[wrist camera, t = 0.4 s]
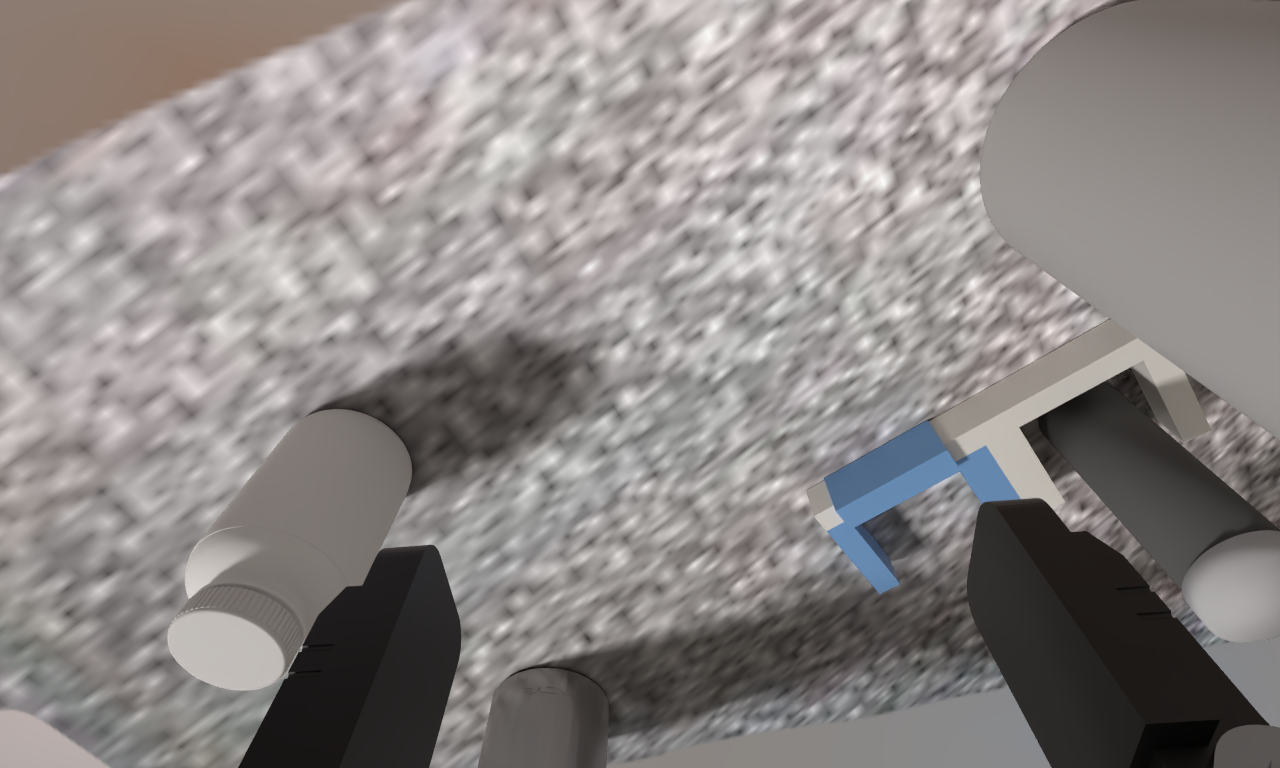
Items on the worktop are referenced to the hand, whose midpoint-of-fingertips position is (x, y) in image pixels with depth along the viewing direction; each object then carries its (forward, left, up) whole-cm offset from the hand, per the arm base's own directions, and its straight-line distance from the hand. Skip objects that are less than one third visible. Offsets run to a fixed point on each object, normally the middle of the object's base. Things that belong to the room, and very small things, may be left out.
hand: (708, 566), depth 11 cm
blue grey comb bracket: (-15, -22, -29) cm, 39 cm away
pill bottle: (-21, +17, -29) cm, 39 cm away
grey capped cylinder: (-11, -27, -29) cm, 41 cm away
